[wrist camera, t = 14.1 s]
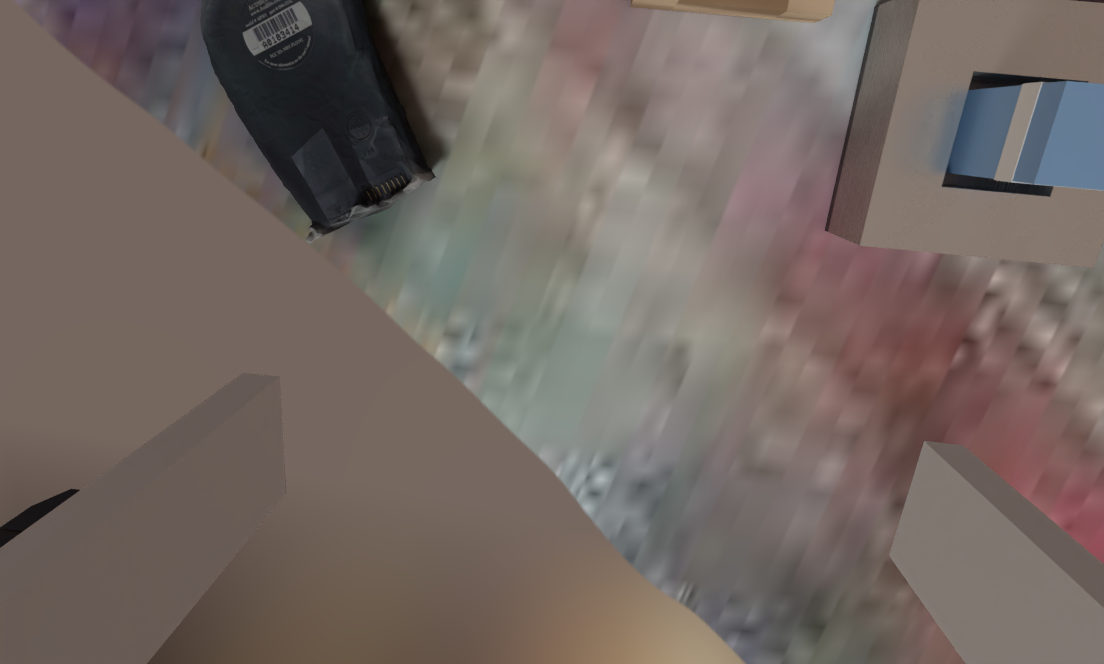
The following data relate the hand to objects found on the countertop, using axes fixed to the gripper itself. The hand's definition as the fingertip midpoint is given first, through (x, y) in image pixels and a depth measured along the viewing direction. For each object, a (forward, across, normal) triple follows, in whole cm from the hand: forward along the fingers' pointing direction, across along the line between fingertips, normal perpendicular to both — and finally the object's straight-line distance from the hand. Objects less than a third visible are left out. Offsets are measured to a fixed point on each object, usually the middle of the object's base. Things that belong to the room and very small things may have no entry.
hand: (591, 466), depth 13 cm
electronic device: (+27, -16, +7) cm, 33 cm away
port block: (+27, +20, +8) cm, 34 cm away
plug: (+26, +20, +8) cm, 34 cm away
